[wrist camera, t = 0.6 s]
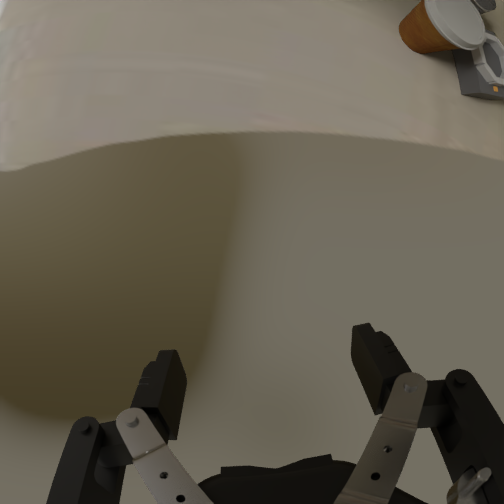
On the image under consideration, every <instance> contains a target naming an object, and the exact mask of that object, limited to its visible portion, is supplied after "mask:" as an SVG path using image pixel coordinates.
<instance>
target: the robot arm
mask: <svg viewBox="0 0 504 504" xmlns="http://www.w3.org/2000/svg"><path fill="white" fill-rule="evenodd" d="M351 358H352V362H353V365H354V367H355V370H356V372H357V374H358V377H359V379H360V381H361V383H362V386H363V388H364V390H365V393H366V395H367V397H368V400H369V402H370V404H371V407H372V409H373V412H374V414H375V415H378V414H382V416H381V417H380V418H379V420H378V422H377V424H376V426H375V429H374V431H373V433H372V435H371V437H370V440H369V442H368V444H367V446H366V448H365V450H364V452H363V454H362V456H361V458H360V459H359V461H358V463H357V465H356V464H354V463H350V462H346V461H338V460H332V456H331V454H328V455H323V456H317V457H312V458H306V459H302V460H300V461H297V462H295V463H292V464H289V465H286V466H283V467H280V468H276V469H273V468H264V467H255V466H233V467H221V474H217V475H214V476H211V477H210V478H207V479H205V480H203V481H202V482H200V483H199V484H196V482H195V481H194V480H193V479H192V478H191V476H190V475H189V474H188V473H187V471H186V470H185V468H184V467H183V466H182V465H181V463H180V462H179V461H178V459H177V458H176V457H175V455H174V454H173V452H172V451H171V450H170V449H169V447H168V446H167V444H168V440H177V435H178V429H179V424H180V418H181V413H182V408H183V402H184V397H185V391H186V386H187V378H186V374H185V371H184V368H183V366H182V363H181V360H180V357H179V355H178V352H177V350H161V351H159V353H158V356H157V359H156V361H152V362H150V363H149V364H148V365H147V366H146V367H145V368H144V370H143V373H142V376H141V379H140V381H139V385H138V387H137V390H136V392H135V395H134V398H133V401H132V404H131V407H130V408H129V409H126V410H125V411H123V412H121V413H120V414H119V416H118V418H117V420H115V421H112V422H106V423H101V424H99V422H98V421H97V420H96V419H95V418H93V417H82V418H80V419H78V420H77V421H76V422H75V423H74V425H73V426H72V429H71V431H70V434H69V437H68V439H67V442H66V445H65V448H64V450H63V453H62V456H61V459H60V462H59V465H58V468H57V471H56V474H55V477H54V480H53V483H52V486H51V489H50V493H49V496H48V500H47V503H46V504H119V502H120V496H121V490H122V485H123V479H124V474H125V469H126V465H129V464H134V465H135V467H136V469H137V471H138V472H139V474H140V476H141V478H142V479H143V481H144V483H145V484H146V486H147V487H148V489H149V491H150V492H151V494H152V495H153V497H154V498H155V500H156V501H157V503H158V504H428V503H425V502H423V501H421V500H419V499H418V498H415V497H414V496H412V495H410V494H408V493H406V492H404V491H402V490H401V489H399V488H397V487H395V486H396V484H397V482H398V479H399V477H400V474H401V472H402V470H403V467H404V464H405V462H406V459H407V457H408V453H409V451H410V448H411V445H412V442H413V439H414V436H415V433H416V430H417V428H428V427H430V428H431V431H432V433H433V435H434V437H435V440H436V442H437V445H438V447H439V449H440V452H441V454H442V456H443V459H444V462H445V464H446V466H447V469H448V472H449V474H450V477H451V480H452V482H453V486H452V487H451V488H450V489H449V491H448V493H447V504H504V424H503V422H502V421H501V419H500V417H499V416H498V414H497V412H496V411H495V409H494V408H493V406H492V404H491V403H490V401H489V399H488V398H487V396H486V395H485V393H484V392H483V390H482V389H481V387H480V386H479V384H478V383H477V381H476V380H475V378H474V377H473V375H472V374H471V373H469V372H468V371H466V370H462V369H456V370H453V371H451V372H449V373H448V375H447V376H446V378H445V380H433V381H428V380H426V379H425V378H424V377H423V376H422V375H420V374H418V373H413V372H412V371H411V369H410V368H409V366H408V365H407V363H406V361H405V360H404V359H403V357H402V355H401V354H400V352H399V351H398V349H397V347H396V346H395V345H394V343H393V341H392V340H391V338H390V337H389V336H388V335H386V334H385V333H383V332H382V331H379V332H375V331H374V329H373V328H372V326H371V324H370V323H365V324H360V325H355V326H353V328H352V342H351Z"/></svg>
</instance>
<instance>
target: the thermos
mask: <svg viewBox="0 0 504 504" xmlns="http://www.w3.org/2000/svg"><path fill="white" fill-rule="evenodd" d="M470 1H471V2H472V3H473V4H474V6H475V7H476V8H477V10H478V12H479V13H480V14H483V13H485V12H489V11H491V10H494V9H495V8H496V3H495V0H470Z"/></svg>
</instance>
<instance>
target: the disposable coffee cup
mask: <svg viewBox="0 0 504 504" xmlns="http://www.w3.org/2000/svg"><path fill="white" fill-rule="evenodd" d="M399 33H400V36H401V38H402V40H403V41H404V43H405V44H406V45H407V46H408V47H409V48H410V49H412V50H413V51H415V52H417V53H420V54H425V53H431V52H437V51H444V50H452V49H460V48H462V49H466V50H474V49H477V48H478V47H479V46H480V44H481V43H482V42H483V40H484V38H485V26H484V22H483V20H482V18H481V15H480V13H479V12H478V10H477V8H476V7H475V6H474V4H473V3H472V2H471V1H470V0H421V2H419V4H418V5H417V6H416V7H415V8H413V10H412V11H411V12H410V13H409V14H408V15H407V16H406V17H405V18H404V19H403V20H402V21H401V23H400V25H399Z"/></svg>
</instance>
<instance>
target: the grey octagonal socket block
mask: <svg viewBox="0 0 504 504" xmlns="http://www.w3.org/2000/svg"><path fill="white" fill-rule="evenodd" d="M452 51H453V55H454V59H455V64H456V68H457V73H458V78H459V83H460V89H461V95H468V96H473V97H479V98H484V99H489V100H498V99H504V46H503V45H502V43H501V42H500V40H499V39H498V38H496V36H495V33H493V32H491V31H488V30H486V29H485V38H484V40H483V42H482V43H481V44H480V46H479V47H478V48H477V49H474V50H466V49H462V48H460V49H452Z"/></svg>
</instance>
